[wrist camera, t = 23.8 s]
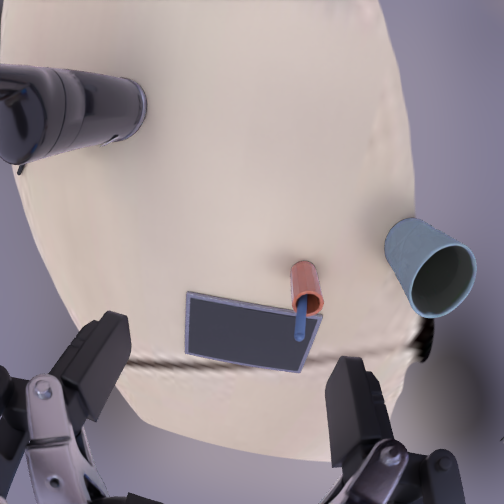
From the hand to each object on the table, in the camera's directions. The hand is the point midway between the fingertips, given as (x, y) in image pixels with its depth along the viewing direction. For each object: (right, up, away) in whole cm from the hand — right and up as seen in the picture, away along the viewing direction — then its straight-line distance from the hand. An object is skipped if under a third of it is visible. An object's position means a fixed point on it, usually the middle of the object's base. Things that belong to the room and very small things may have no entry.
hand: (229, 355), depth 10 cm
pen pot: (+8, +1, +32) cm, 33 cm away
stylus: (+8, +1, +32) cm, 33 cm away
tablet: (0, -11, +38) cm, 40 cm away
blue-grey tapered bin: (+24, +5, +29) cm, 38 cm away
